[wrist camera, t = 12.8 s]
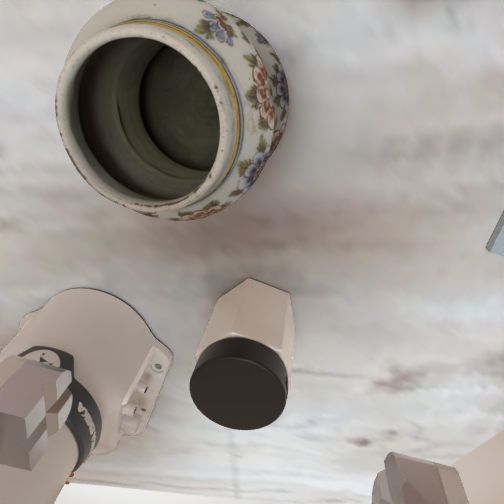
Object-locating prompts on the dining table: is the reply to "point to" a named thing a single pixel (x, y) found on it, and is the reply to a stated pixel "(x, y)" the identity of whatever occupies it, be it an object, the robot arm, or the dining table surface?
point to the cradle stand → (497, 238)
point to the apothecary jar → (170, 106)
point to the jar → (245, 357)
